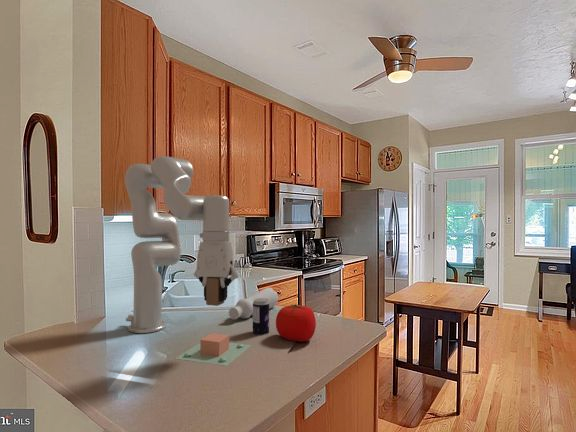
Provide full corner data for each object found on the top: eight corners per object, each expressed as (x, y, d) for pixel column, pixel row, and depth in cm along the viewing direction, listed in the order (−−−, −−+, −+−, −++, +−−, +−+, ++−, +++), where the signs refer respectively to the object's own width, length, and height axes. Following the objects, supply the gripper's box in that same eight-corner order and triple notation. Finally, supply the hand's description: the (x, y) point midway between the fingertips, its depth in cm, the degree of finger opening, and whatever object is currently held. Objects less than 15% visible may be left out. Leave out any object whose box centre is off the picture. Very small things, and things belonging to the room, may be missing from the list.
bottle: (259, 297, 162) (220, 314, 135) (268, 282, 159) (230, 297, 132) (273, 310, 158) (236, 330, 131) (283, 295, 156) (247, 312, 129)
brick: (200, 353, 97) (200, 339, 98) (211, 346, 103) (211, 333, 103) (219, 356, 96) (219, 342, 96) (229, 349, 101) (229, 335, 101)
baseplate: (174, 362, 94) (174, 356, 94) (205, 342, 109) (205, 337, 109) (226, 369, 89) (226, 363, 89) (251, 348, 105) (251, 343, 105)
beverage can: (266, 338, 114) (266, 302, 115) (250, 336, 115) (250, 301, 116) (270, 332, 120) (271, 298, 120) (255, 331, 121) (255, 297, 121)
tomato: (321, 336, 116) (321, 302, 117) (306, 349, 104) (306, 311, 104) (287, 331, 122) (287, 298, 122) (269, 343, 109) (269, 306, 110)
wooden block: (224, 303, 101) (225, 276, 101) (217, 306, 97) (218, 278, 97) (212, 302, 102) (213, 275, 102) (205, 305, 98) (205, 277, 99)
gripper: (183, 237, 99) (183, 300, 99) (236, 238, 94) (235, 305, 94) (198, 236, 106) (197, 295, 106) (247, 237, 101) (247, 299, 101)
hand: (215, 299), depth 100 cm, fingers closed on wooden block, 4 cm apart
